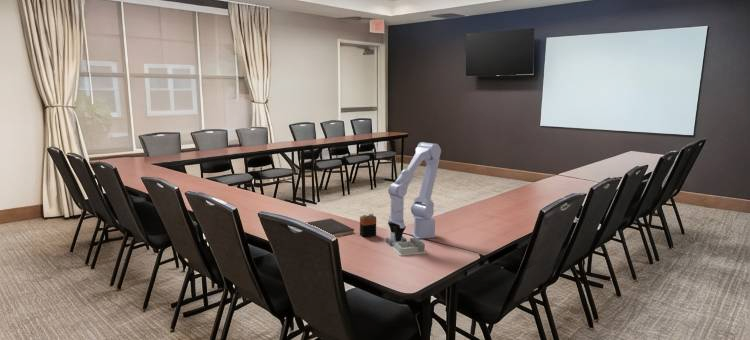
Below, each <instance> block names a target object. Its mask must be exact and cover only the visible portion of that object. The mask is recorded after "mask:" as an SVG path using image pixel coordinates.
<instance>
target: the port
mask: <svg viewBox="0 0 750 340" xmlns="http://www.w3.org/2000/svg"><path fill="white" fill-rule="evenodd" d="M425 244H426V243H424V241H422V240H421V239H418V238H415V237H411V238H410V240H407V242H396V243H394V244H393V246H391V249H392V250H393V251H394V252H395V253H396V254H397V255H399V256H400V257H402V256H411V255H412V254H413V255H421V254H422V253H423V254H427V253H428V252H427V251H426V250H425Z"/></svg>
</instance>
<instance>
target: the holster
mask: <svg viewBox="0 0 750 340" xmlns="http://www.w3.org/2000/svg"><path fill="white" fill-rule="evenodd" d="M407 241H408V239H407V238H405V236H403V235H402V242H407ZM385 242H386V243H387V244H388V246H393V244H392V240H391V238H389V237H385Z"/></svg>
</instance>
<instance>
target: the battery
mask: <svg viewBox="0 0 750 340" xmlns="http://www.w3.org/2000/svg"><path fill="white" fill-rule="evenodd" d="M359 235H360V236H361V237H363V238H367V237H368V236H369V237H375V236H377V216H375V215H374V213H369V214H368V215H366V214H364V215H361V216H360V217H359ZM369 237H368V238H369Z"/></svg>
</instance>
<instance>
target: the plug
mask: <svg viewBox="0 0 750 340" xmlns="http://www.w3.org/2000/svg"><path fill="white" fill-rule="evenodd" d="M390 239H391V240H392V245H394V243H396V242H402V238H401V241H396V239H395V232H391V231H390Z"/></svg>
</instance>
